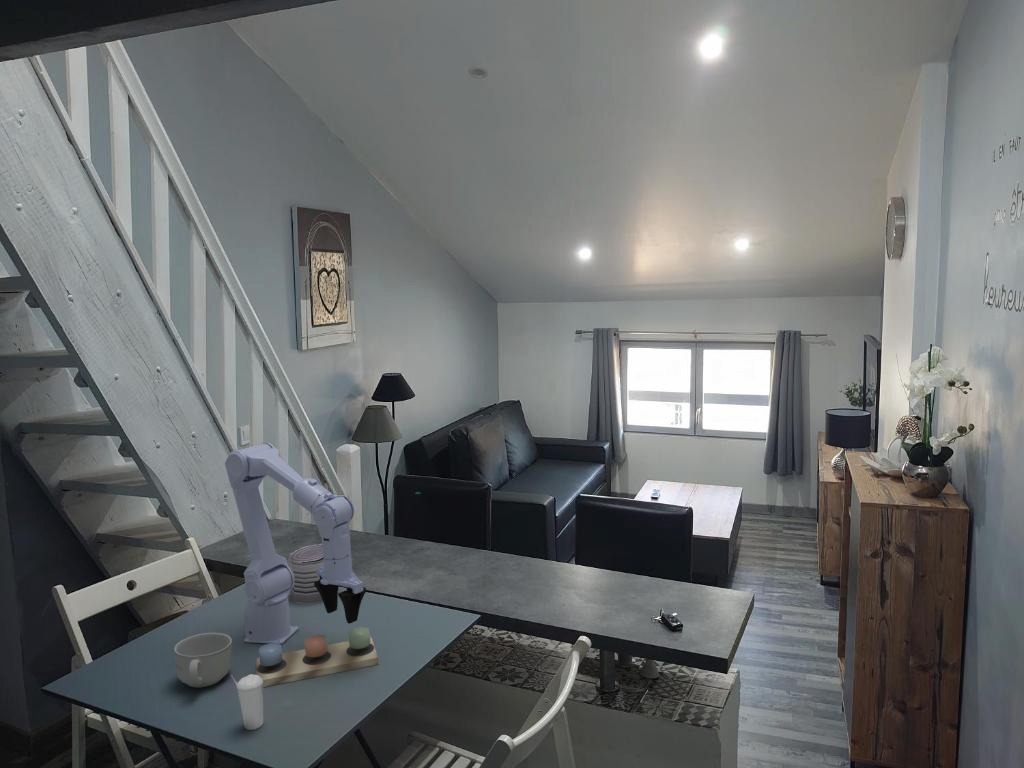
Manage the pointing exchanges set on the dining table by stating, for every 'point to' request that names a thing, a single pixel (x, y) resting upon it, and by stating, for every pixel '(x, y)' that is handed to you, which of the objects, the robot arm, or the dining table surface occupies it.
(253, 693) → the milkshake
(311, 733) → the dining table surface
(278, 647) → the slate button
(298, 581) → the can
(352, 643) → the sage button
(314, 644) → the terracotta button
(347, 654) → the button panel
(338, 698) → the dining table surface
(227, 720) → the dining table surface
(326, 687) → the dining table surface
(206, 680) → the teacup
